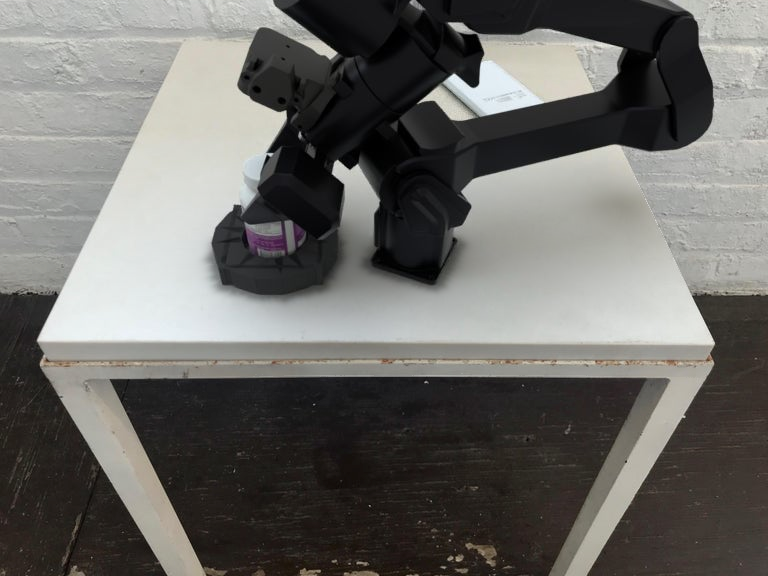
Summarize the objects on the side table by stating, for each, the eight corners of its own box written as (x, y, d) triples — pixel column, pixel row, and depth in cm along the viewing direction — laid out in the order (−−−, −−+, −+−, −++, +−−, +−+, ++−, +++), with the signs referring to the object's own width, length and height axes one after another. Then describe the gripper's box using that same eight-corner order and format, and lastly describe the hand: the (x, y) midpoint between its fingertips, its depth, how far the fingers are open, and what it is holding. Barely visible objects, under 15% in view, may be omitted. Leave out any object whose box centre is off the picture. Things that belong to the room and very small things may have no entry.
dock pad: (339, 213, 63) (339, 197, 61) (335, 294, 55) (334, 278, 53) (226, 212, 63) (223, 196, 61) (206, 294, 55) (201, 278, 53)
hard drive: (490, 70, 85) (545, 113, 77) (438, 82, 82) (489, 128, 75) (492, 59, 84) (547, 101, 76) (439, 70, 81) (491, 116, 73)
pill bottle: (283, 224, 61) (272, 140, 54) (318, 250, 59) (312, 165, 52) (238, 250, 59) (221, 164, 52) (273, 278, 56) (260, 193, 49)
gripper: (317, -48, 48) (204, 78, 57) (273, 63, 35) (135, 205, 44) (413, 54, 54) (297, 155, 62) (405, 183, 41) (260, 289, 49)
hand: (253, 194), depth 54 cm, fingers open, 7 cm apart
